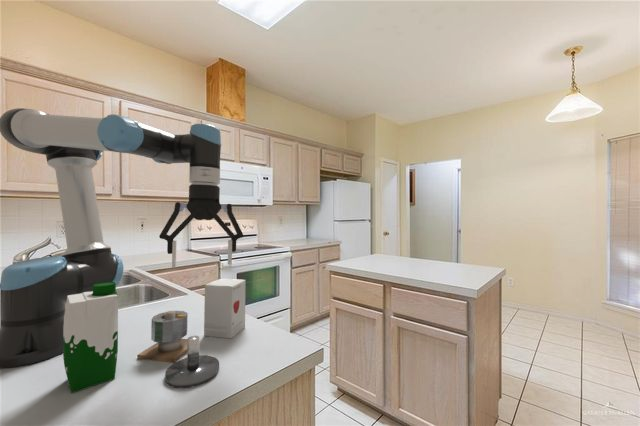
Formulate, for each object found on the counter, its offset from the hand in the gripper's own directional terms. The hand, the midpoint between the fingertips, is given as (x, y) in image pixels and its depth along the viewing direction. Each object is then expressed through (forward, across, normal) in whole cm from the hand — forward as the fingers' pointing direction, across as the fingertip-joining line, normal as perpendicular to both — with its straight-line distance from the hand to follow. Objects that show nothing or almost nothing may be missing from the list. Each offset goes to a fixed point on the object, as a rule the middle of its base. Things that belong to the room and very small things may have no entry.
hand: (202, 265), depth 75 cm
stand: (+22, -7, +1) cm, 23 cm away
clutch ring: (+18, -7, +1) cm, 19 cm away
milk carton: (+22, -22, -6) cm, 32 cm away
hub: (+22, -2, -12) cm, 25 cm away
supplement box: (+22, +7, +8) cm, 25 cm away
